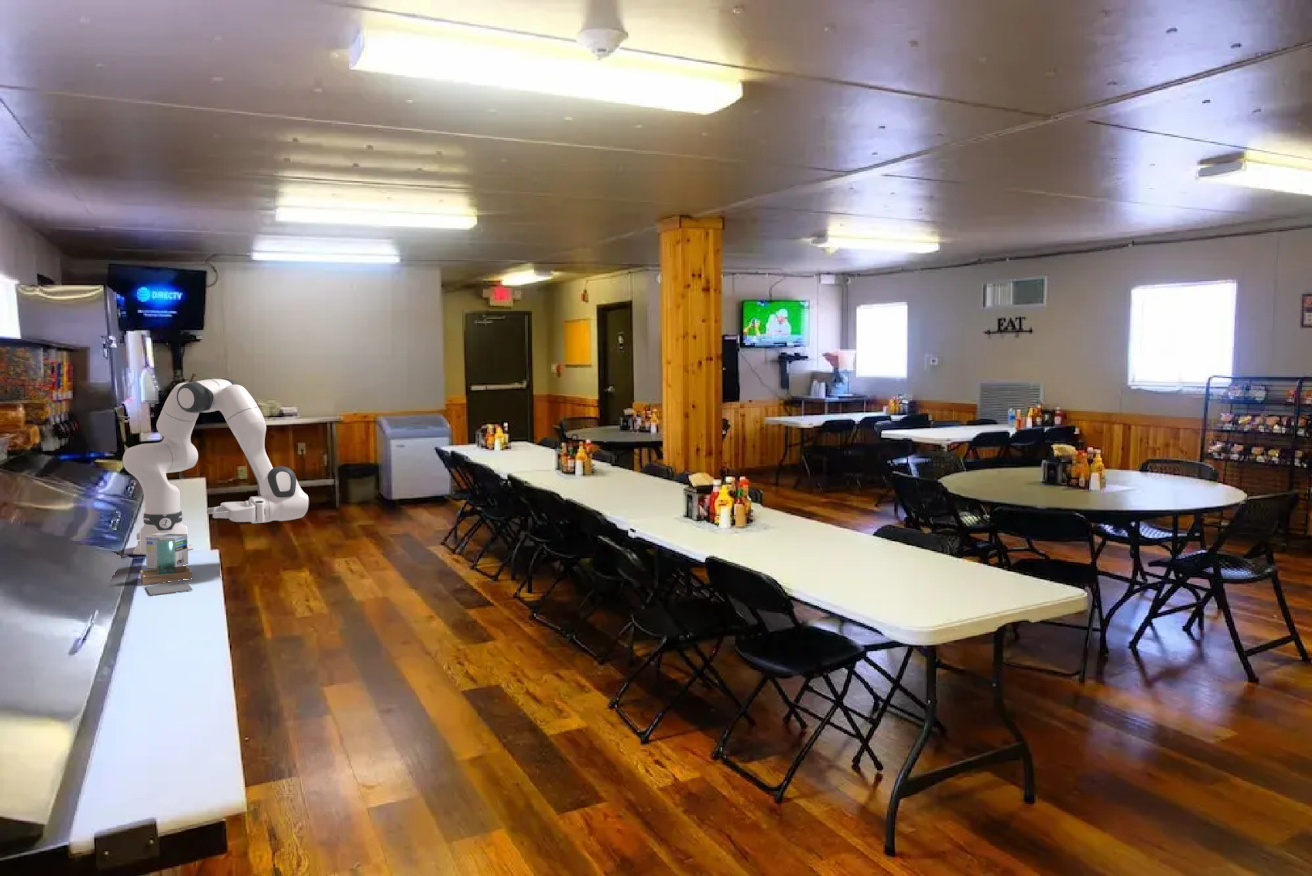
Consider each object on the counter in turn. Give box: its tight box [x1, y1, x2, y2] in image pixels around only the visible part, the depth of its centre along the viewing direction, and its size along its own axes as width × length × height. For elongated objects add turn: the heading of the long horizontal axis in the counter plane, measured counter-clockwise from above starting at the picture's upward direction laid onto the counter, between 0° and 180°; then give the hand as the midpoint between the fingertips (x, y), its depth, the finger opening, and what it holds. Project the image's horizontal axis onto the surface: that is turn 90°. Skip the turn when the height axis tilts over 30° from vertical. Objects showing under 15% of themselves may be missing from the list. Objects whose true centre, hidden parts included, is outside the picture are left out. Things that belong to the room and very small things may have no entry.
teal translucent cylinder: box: [156, 540, 175, 575], centre depth 268 cm, size 5×5×12 cm
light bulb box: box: [145, 533, 189, 569], centre depth 284 cm, size 11×7×11 cm, turn 84°
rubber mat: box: [144, 582, 193, 597], centre depth 256 cm, size 11×11×1 cm
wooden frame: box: [139, 565, 193, 586], centre depth 268 cm, size 10×13×2 cm
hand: (210, 513), depth 274 cm, fingers open, 8 cm apart
